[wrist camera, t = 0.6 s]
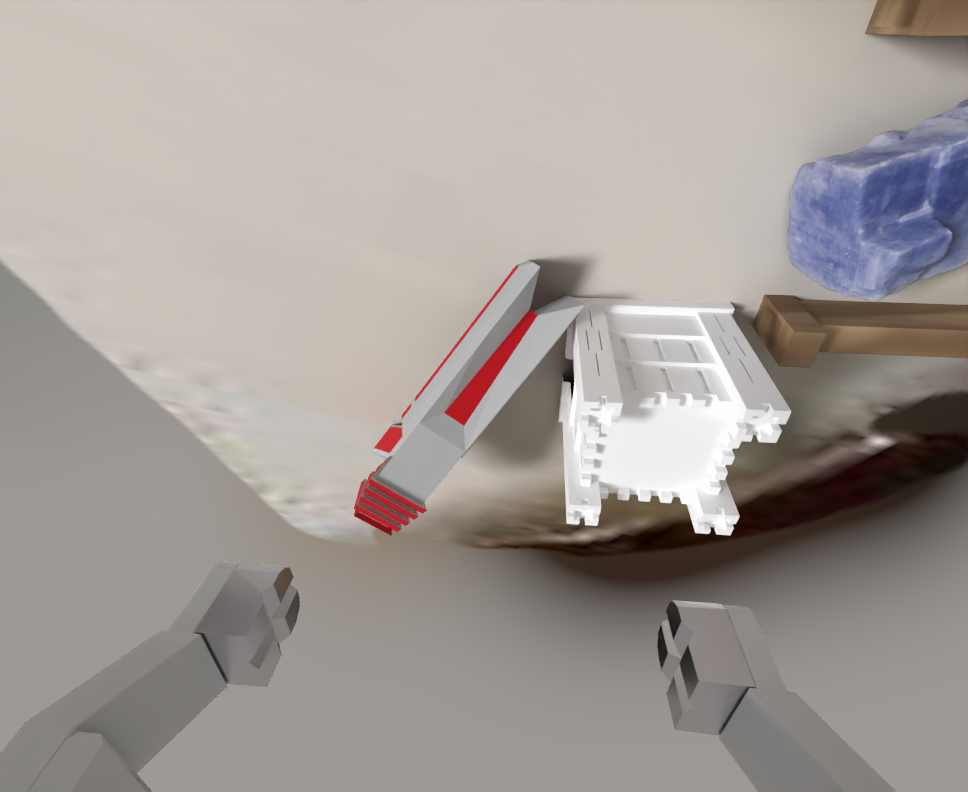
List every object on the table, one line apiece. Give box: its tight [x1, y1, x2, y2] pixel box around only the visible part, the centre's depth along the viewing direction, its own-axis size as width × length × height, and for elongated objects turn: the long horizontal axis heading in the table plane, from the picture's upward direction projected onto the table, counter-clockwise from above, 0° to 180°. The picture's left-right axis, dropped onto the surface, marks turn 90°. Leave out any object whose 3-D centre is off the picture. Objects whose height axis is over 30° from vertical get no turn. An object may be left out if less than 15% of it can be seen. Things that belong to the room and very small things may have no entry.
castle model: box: [559, 297, 792, 535], centre depth 42 cm, size 14×14×15 cm
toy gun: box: [354, 260, 586, 535], centre depth 48 cm, size 7×28×15 cm, turn 142°
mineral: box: [788, 100, 968, 301], centre depth 33 cm, size 14×10×10 cm
